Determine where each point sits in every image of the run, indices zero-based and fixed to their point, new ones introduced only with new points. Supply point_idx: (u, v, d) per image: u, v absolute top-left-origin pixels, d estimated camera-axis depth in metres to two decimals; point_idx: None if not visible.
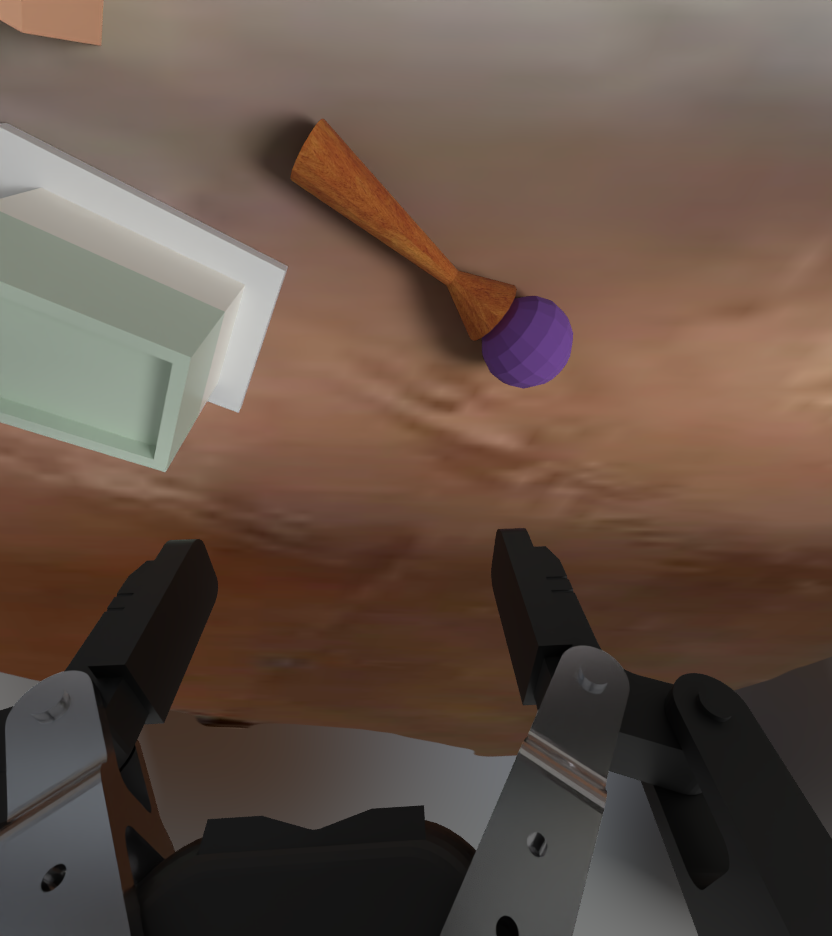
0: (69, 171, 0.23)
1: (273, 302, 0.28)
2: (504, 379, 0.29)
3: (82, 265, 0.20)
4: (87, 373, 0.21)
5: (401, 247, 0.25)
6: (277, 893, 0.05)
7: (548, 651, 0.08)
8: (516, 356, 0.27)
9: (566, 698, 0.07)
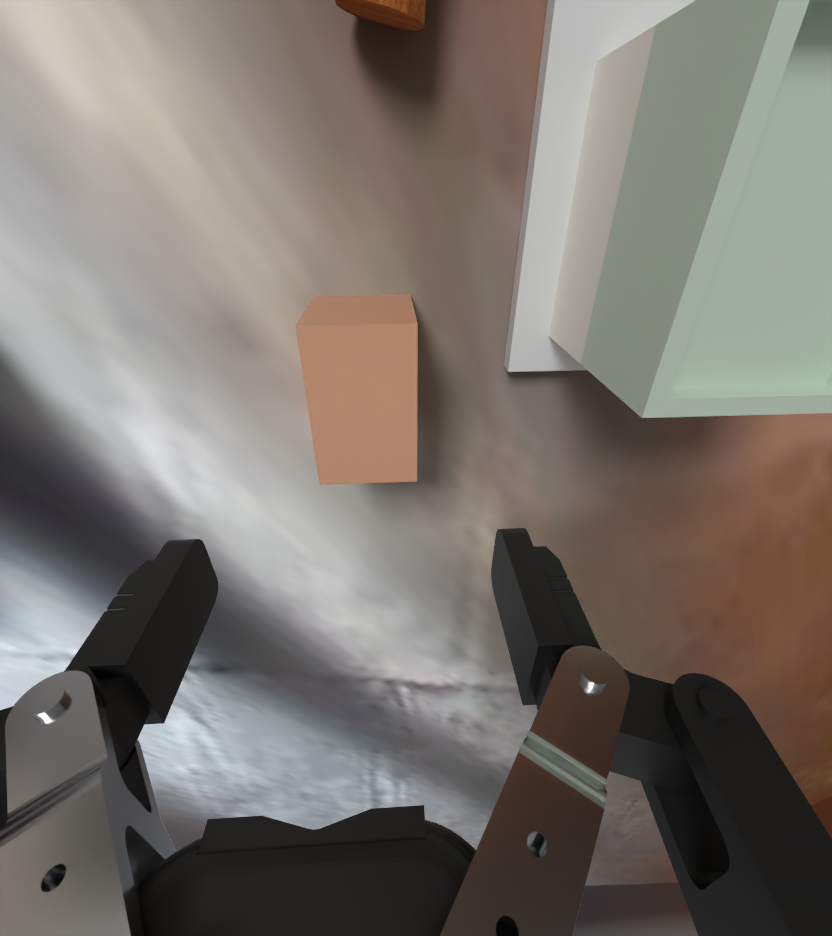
0: (524, 311, 0.22)
1: None
2: None
3: (626, 250, 0.15)
4: (821, 196, 0.12)
5: None
6: (277, 893, 0.05)
7: (548, 651, 0.08)
8: None
9: (566, 698, 0.07)
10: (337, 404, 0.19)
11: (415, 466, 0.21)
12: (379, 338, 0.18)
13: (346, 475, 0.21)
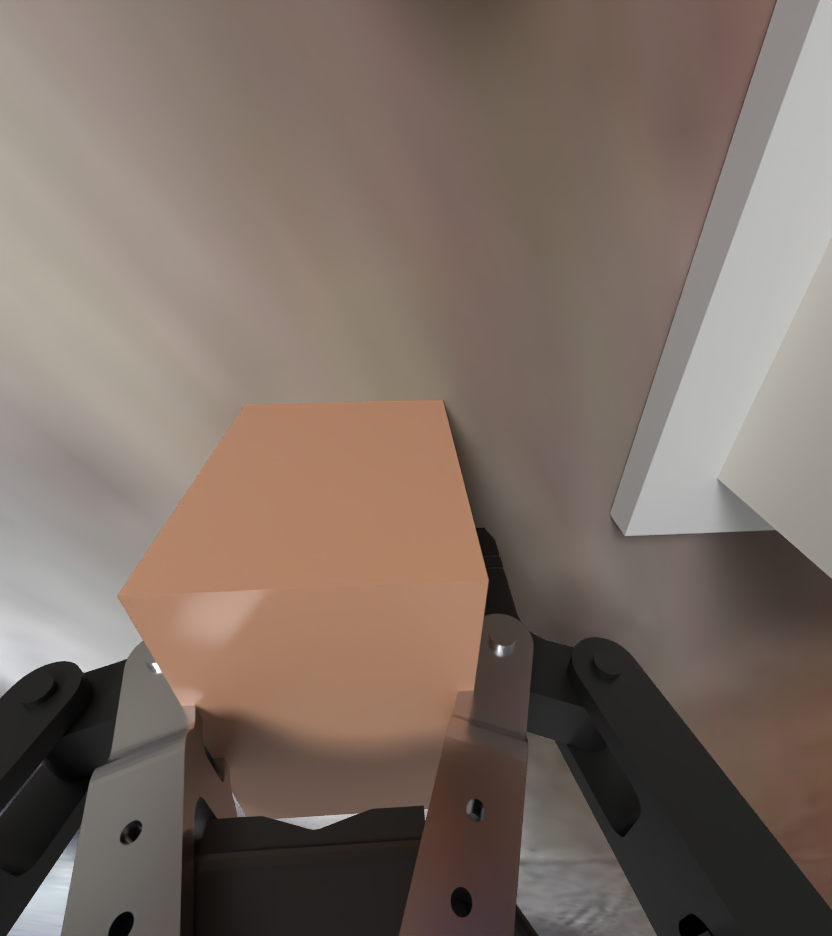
0: (678, 437, 0.11)
1: None
2: None
3: None
4: None
5: None
6: (277, 893, 0.05)
7: None
8: None
9: (482, 667, 0.08)
10: (270, 723, 0.08)
11: None
12: (375, 612, 0.06)
13: (305, 808, 0.10)
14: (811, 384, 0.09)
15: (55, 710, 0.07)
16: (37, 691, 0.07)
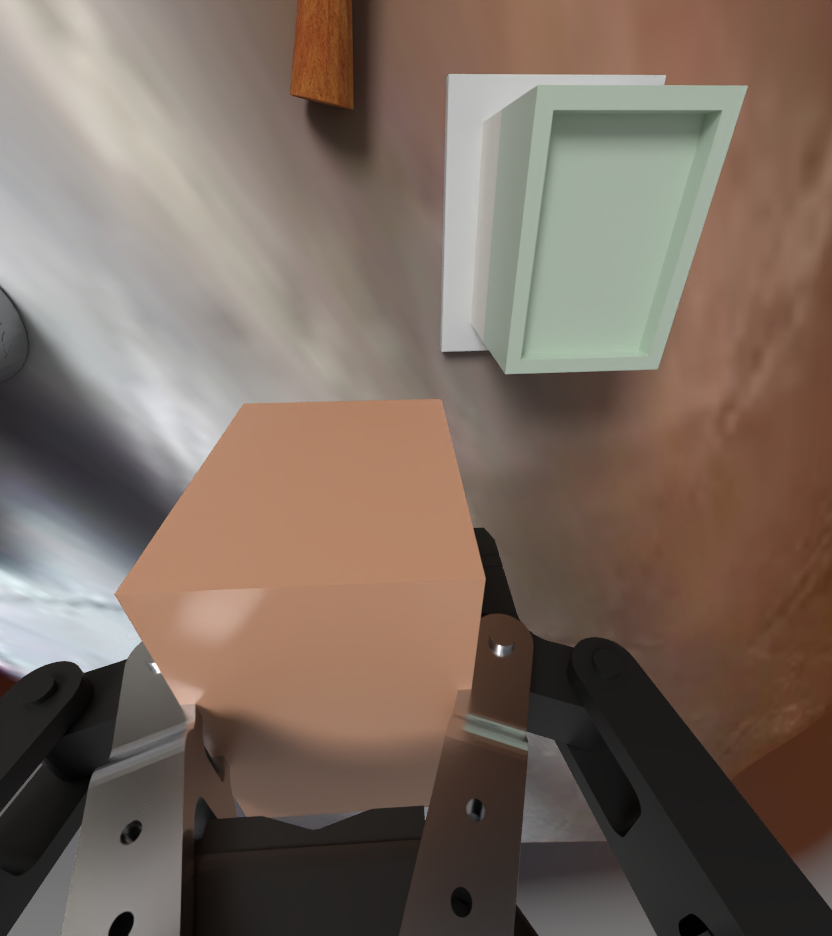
0: (449, 304, 0.29)
1: (490, 76, 0.23)
2: None
3: (497, 258, 0.22)
4: (601, 224, 0.19)
5: None
6: (277, 893, 0.05)
7: None
8: None
9: (482, 667, 0.08)
10: (268, 721, 0.08)
11: None
12: (373, 610, 0.06)
13: (304, 806, 0.10)
14: (476, 277, 0.27)
15: (55, 710, 0.07)
16: (37, 691, 0.07)
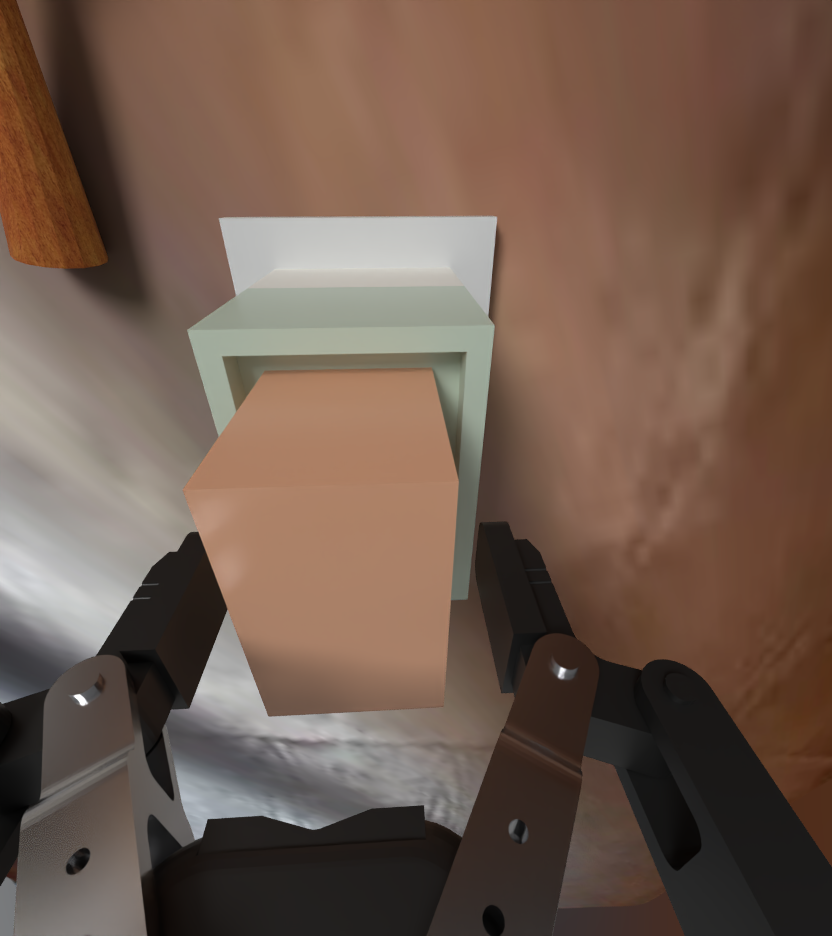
0: None
1: (273, 220, 0.18)
2: None
3: None
4: None
5: None
6: (277, 893, 0.05)
7: (523, 639, 0.09)
8: None
9: (540, 686, 0.07)
10: (290, 612, 0.10)
11: (441, 689, 0.12)
12: (374, 508, 0.08)
13: (315, 704, 0.12)
14: None
15: None
16: None
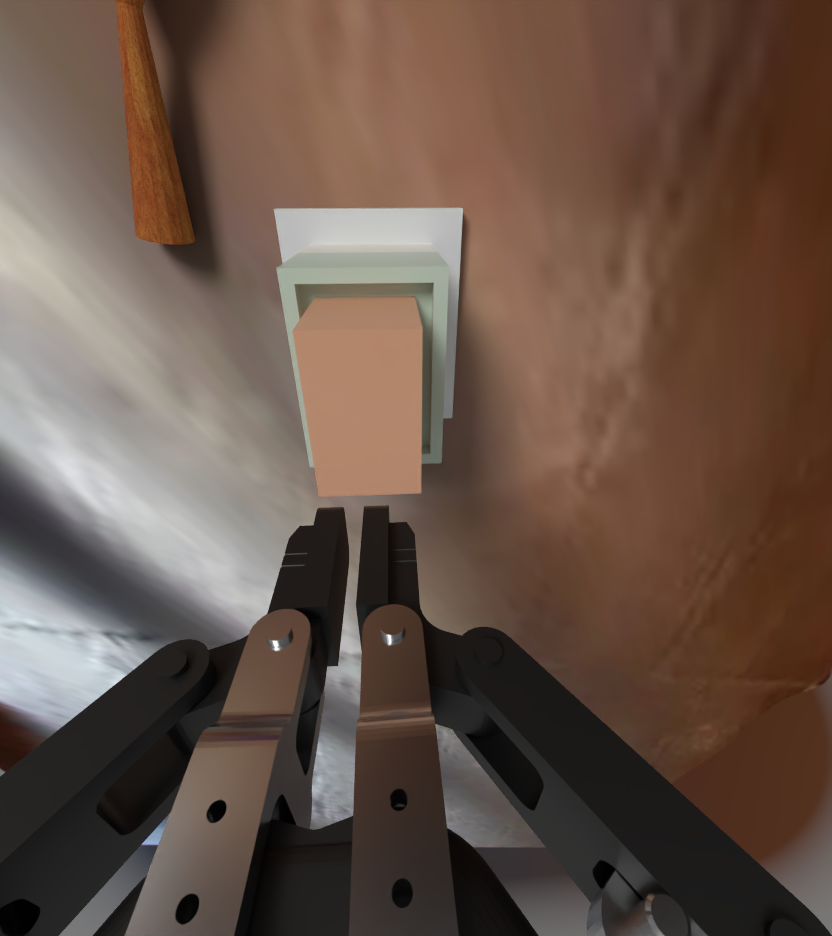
0: None
1: (310, 210, 0.27)
2: None
3: None
4: None
5: (146, 101, 0.22)
6: (277, 893, 0.05)
7: (367, 610, 0.09)
8: None
9: (379, 661, 0.08)
10: (337, 413, 0.18)
11: (419, 477, 0.20)
12: (382, 343, 0.17)
13: (346, 487, 0.20)
14: None
15: (191, 684, 0.07)
16: (171, 666, 0.08)
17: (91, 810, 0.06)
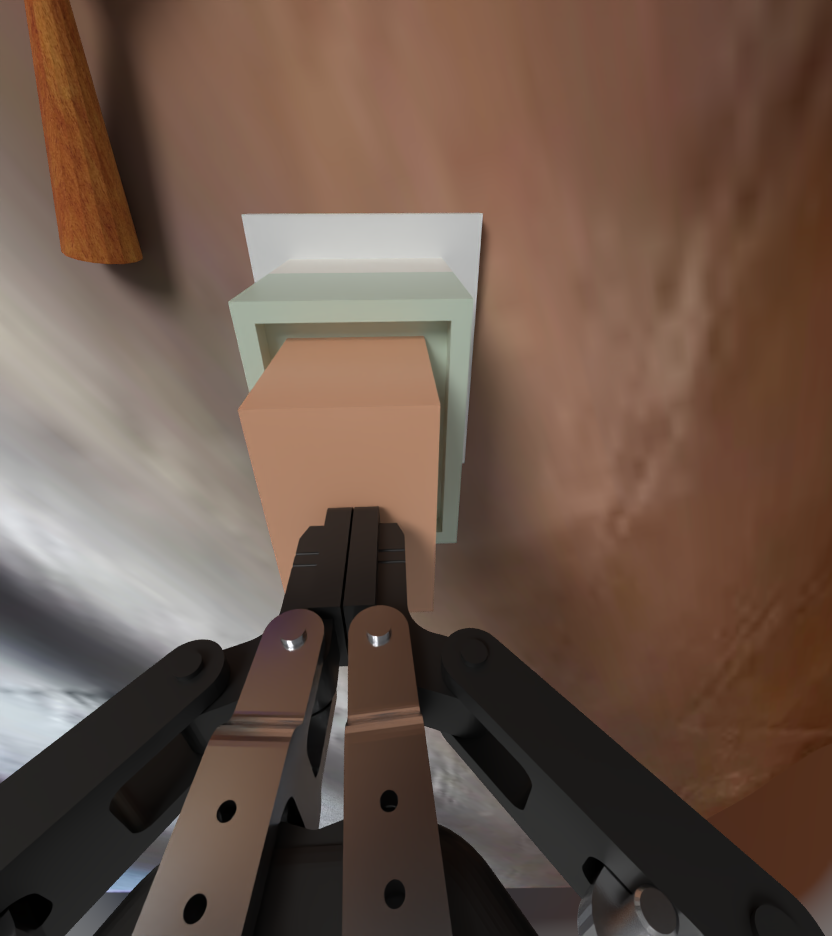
0: None
1: (288, 216, 0.21)
2: None
3: None
4: None
5: (63, 76, 0.17)
6: (277, 893, 0.05)
7: (355, 611, 0.09)
8: None
9: (366, 663, 0.08)
10: (312, 518, 0.12)
11: (431, 593, 0.14)
12: (377, 427, 0.11)
13: None
14: None
15: (207, 685, 0.07)
16: (186, 667, 0.08)
17: (104, 808, 0.06)
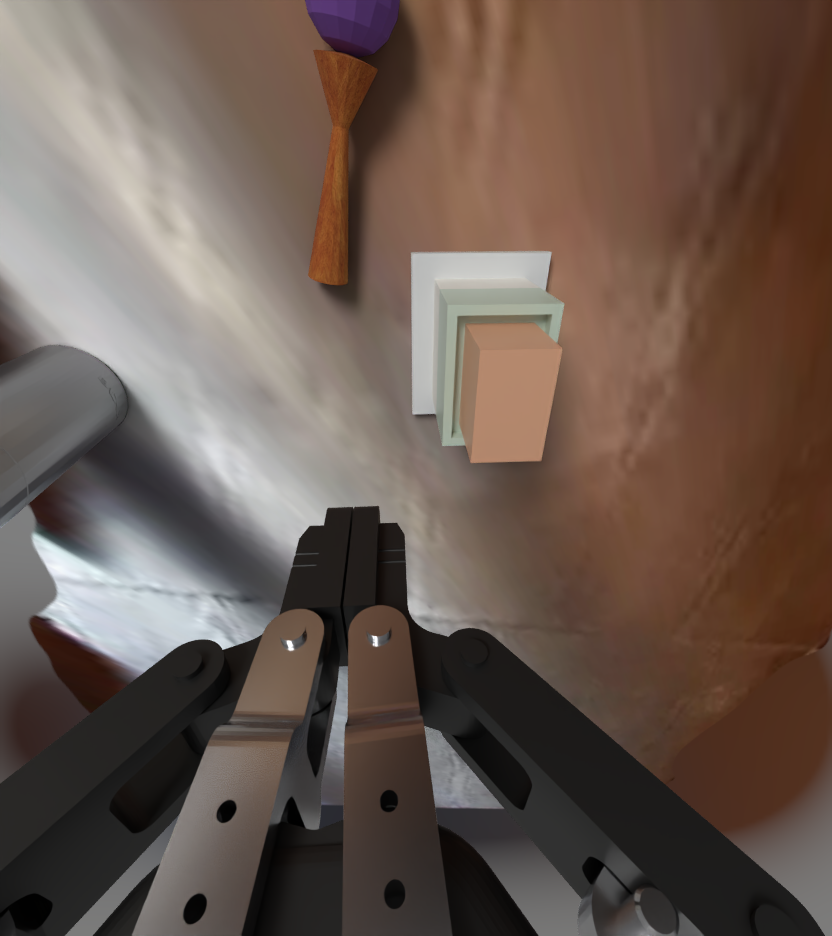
0: (416, 384, 0.42)
1: (438, 254, 0.36)
2: None
3: (439, 372, 0.35)
4: None
5: (340, 189, 0.31)
6: (277, 893, 0.05)
7: (354, 612, 0.09)
8: (354, 5, 0.24)
9: (366, 663, 0.08)
10: (496, 404, 0.27)
11: (542, 449, 0.29)
12: (535, 358, 0.26)
13: (491, 455, 0.29)
14: (433, 370, 0.40)
15: (207, 685, 0.07)
16: (186, 666, 0.08)
17: (104, 808, 0.06)
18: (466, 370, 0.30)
